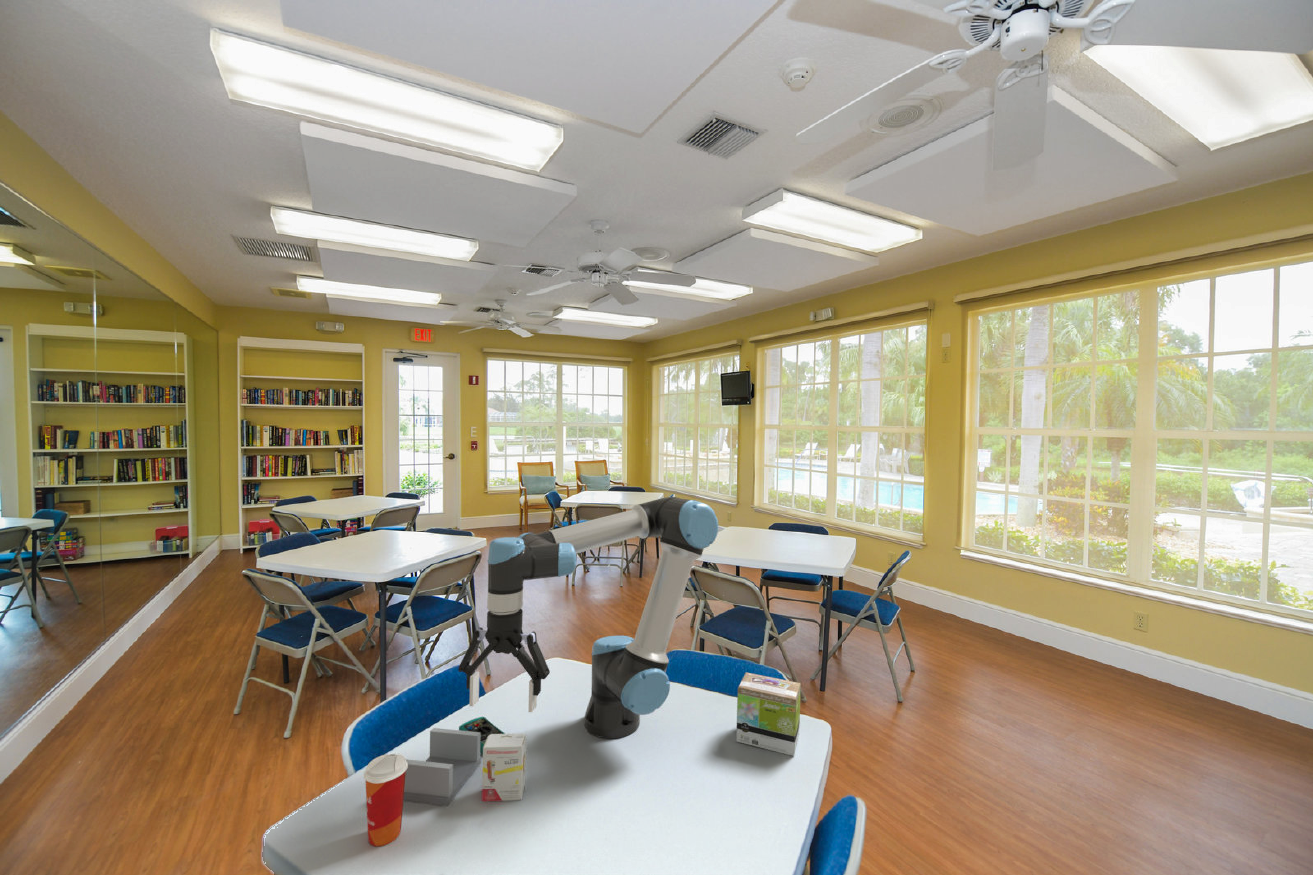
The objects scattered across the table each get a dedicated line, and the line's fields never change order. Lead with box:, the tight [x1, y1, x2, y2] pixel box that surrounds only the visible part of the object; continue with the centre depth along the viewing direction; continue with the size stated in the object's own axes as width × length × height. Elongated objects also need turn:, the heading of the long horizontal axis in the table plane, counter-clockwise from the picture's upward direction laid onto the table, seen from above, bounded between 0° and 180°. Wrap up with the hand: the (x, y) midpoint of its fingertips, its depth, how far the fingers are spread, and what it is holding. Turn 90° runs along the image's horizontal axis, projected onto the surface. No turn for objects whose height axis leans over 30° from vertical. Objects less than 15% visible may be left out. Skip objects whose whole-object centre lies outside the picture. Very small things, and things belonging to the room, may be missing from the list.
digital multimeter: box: [458, 716, 506, 756], centre depth 135 cm, size 7×15×3 cm, turn 45°
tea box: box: [736, 672, 802, 757], centre depth 137 cm, size 15×10×15 cm, turn 68°
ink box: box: [481, 733, 527, 802], centre depth 114 cm, size 9×5×12 cm, turn 95°
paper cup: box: [363, 753, 408, 847], centre depth 102 cm, size 8×8×14 cm
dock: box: [403, 727, 482, 807], centre depth 118 cm, size 12×15×8 cm
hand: (503, 706), depth 115 cm, fingers open, 13 cm apart
